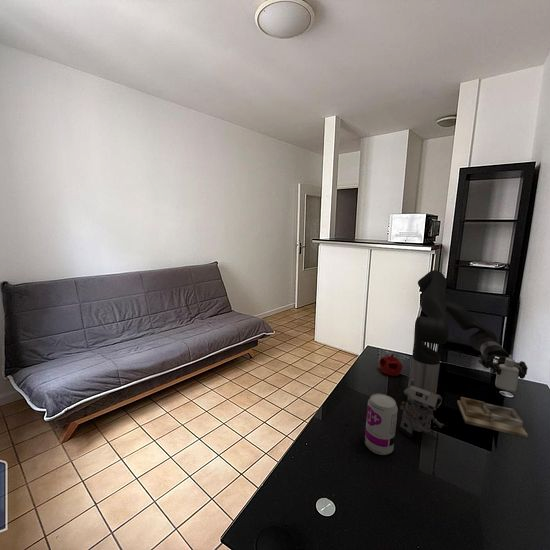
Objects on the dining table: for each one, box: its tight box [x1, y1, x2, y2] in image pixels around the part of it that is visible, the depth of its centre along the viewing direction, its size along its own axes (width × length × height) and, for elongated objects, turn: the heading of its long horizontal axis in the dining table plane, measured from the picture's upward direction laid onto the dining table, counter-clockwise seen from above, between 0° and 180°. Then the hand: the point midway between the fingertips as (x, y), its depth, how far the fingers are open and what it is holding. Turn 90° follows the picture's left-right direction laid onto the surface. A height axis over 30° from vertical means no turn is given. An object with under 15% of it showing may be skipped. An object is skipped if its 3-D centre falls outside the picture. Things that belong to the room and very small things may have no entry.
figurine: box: [398, 385, 449, 438], centre depth 91 cm, size 9×12×15 cm
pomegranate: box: [378, 353, 404, 377], centre depth 131 cm, size 10×10×9 cm
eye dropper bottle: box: [494, 354, 520, 393], centre depth 98 cm, size 4×6×12 cm
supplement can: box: [364, 393, 399, 456], centre depth 85 cm, size 8×8×15 cm
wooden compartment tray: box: [456, 396, 529, 439], centre depth 100 cm, size 17×13×3 cm
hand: (511, 374), depth 95 cm, fingers closed on eye dropper bottle, 5 cm apart
